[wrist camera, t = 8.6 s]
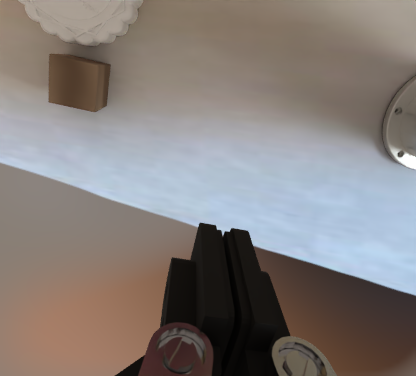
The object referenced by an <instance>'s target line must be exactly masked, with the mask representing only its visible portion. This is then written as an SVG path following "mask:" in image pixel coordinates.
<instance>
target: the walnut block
mask: <svg viewBox="0 0 416 376" xmlns="http://www.w3.org/2000/svg"><path fill="white" fill-rule="evenodd" d="M109 74H110V64H105V63H101V62H97V61H93V60H89V59H84V58H80V57H76V56H72V55H66V54H50V56H49V102H50V103H55V104H59V105H64V106H68V107H73V108H78V109H82V110H87V111H91V112H96V111H98V110H100V109H102V108H104V107H105V106H107V96H108V85H109Z"/></svg>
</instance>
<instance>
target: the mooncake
mask: <svg viewBox="0 0 416 376" xmlns="http://www.w3.org/2000/svg"><path fill="white" fill-rule="evenodd" d="M18 1H19V2H20V3H22V4H24V5H25V11H26V13H27V15H28V16H29V17H30V18H31V19H32V20H34V21H36V22H39V23H40V25H41V27H42V29H43V30H44V31H45V32H46V33H48V34H51V35H56V36H59V38H60V39H61V40H62V41H64V42H67V43H74V44H81V45H86V46H97V45H99V44H100V43H105V44H109V43H112V42H113V41H114V40H115V38H116V36H123V35H125V34H126V33H127V31H128V28H129V24H133V23H134V22H135V21H136V20H137V18H138V10H137V8H139V7H140V6H141V5H142V3H143V0H18Z"/></svg>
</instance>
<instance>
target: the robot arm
mask: <svg viewBox="0 0 416 376" xmlns="http://www.w3.org/2000/svg"><path fill="white" fill-rule="evenodd" d="M382 132H383V141H384V145H385V148H386V150H387V152H388V153H389V155H390V156H391V157H392V158H393V159H394V160H395V161H396V162H398V163H400V164H401V165H403V166H405V167H408V168H410V169H414V170H416V76H415V77H413V78H412V79H411V80H409V81H408V82H407V83H406V84H405V85H404V86H403V87H402V88H401V89H400V90H399V91H398V93H397V94H396V96H395V97H394V98H393V100H392V101H391V103H390V105H389V107H388V109H387V112H386V115H385V118H384V122H383V130H382ZM115 376H337V375H336V374H335V372H334V371H333V369H332V367H331V365H330V364H329V362H328V360H327V359H326V358H325V356H324V355H323V354H322V353H321V352H320V351H319V350H318V349H317V348H316V347H315V346H313V345H312V344H310V343H309V342H307V341H305V340H303V339H300V338H298V337H291V336H290V333H289V331H288V328H287V325H286V322H285V319H284V316H283V313H282V311H281V308H280V305H279V303H278V299H277V296H276V293H275V291H274V288H273V285H272V282H271V279H270V276H269V274H268V273H267V272H263V271H261V269H260V266H259V263H258V260H257V257H256V254H255V250H254V247H253V244H252V241H251V238H250V235H249V232H248V231H246V230H240V229H234V228H232V229H231V230H230V232H227V231H225V233H224V236H223V237H222V231H221V230H217V228H216V225H211V224H205V223H200V224H199V227H198V231H197V235H196V239H195V243H194V248H193V251H192V255H191V260H185V259H179V258H172V259H171V263H170V268H169V272H168V277H167V282H166V288H165V294H164V301H163V309H162V317H161V324H160V328H159V329H158V330H157V331H156V332H155V333H154V334H153V336H152V338H151V340H150V342H149V345H148V348H147V351H146V354H145V355H144V356H143V357H141V358H140V359H138V360H137V361H135V362H134V363H133V364H131V365H130V366H128V367H127V368H126V369H124V370H123V371H121V372H120V373H118V374H117V375H115Z"/></svg>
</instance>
